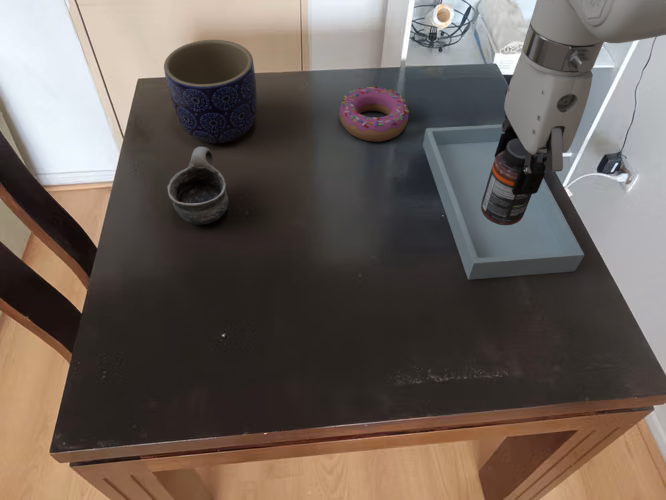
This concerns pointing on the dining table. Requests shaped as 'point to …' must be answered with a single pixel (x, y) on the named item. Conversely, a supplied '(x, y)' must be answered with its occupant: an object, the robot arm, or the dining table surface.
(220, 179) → the mug
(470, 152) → the blue-grey tray
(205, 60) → the planter
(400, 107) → the donut
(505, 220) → the supplement bottle
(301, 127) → the dining table surface
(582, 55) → the robot arm
